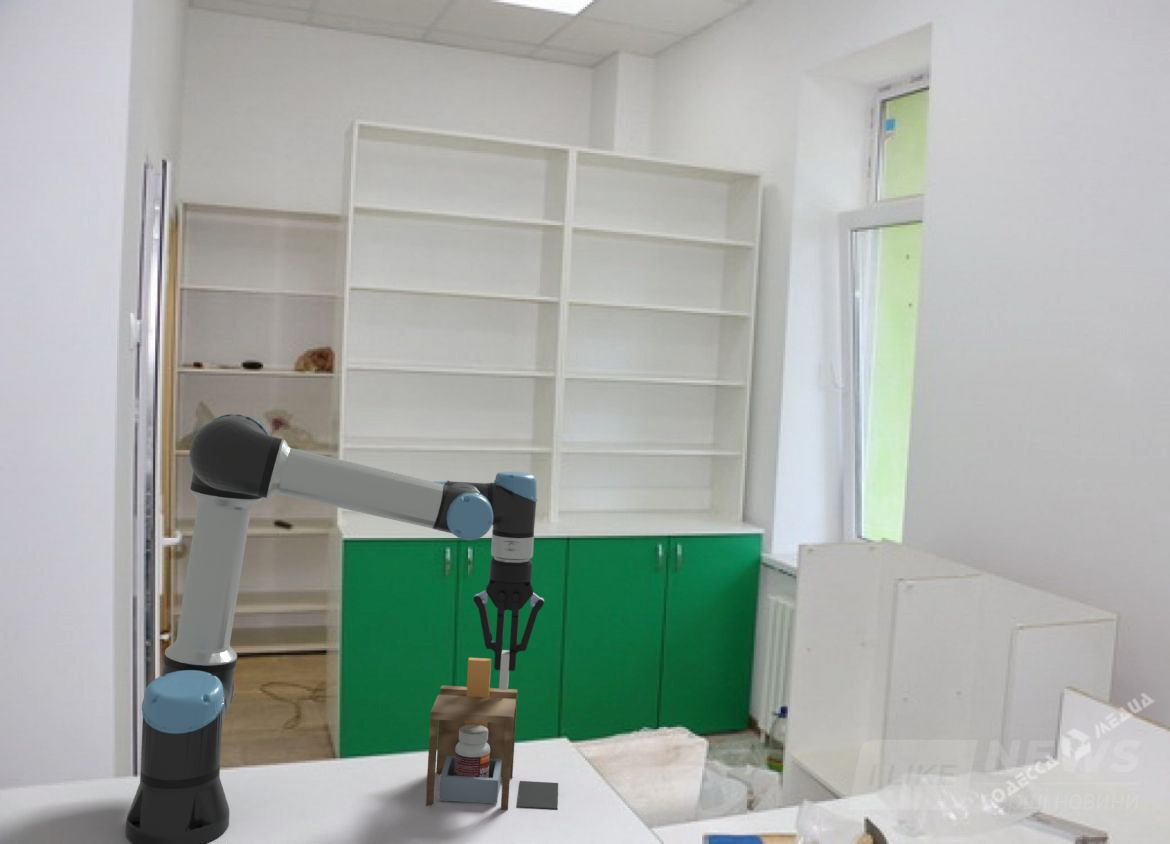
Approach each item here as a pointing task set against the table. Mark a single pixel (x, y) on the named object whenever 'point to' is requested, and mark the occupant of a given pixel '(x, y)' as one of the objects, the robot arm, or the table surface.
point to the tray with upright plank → (480, 786)
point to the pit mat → (538, 795)
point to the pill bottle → (472, 752)
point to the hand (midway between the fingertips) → (503, 687)
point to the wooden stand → (460, 708)
